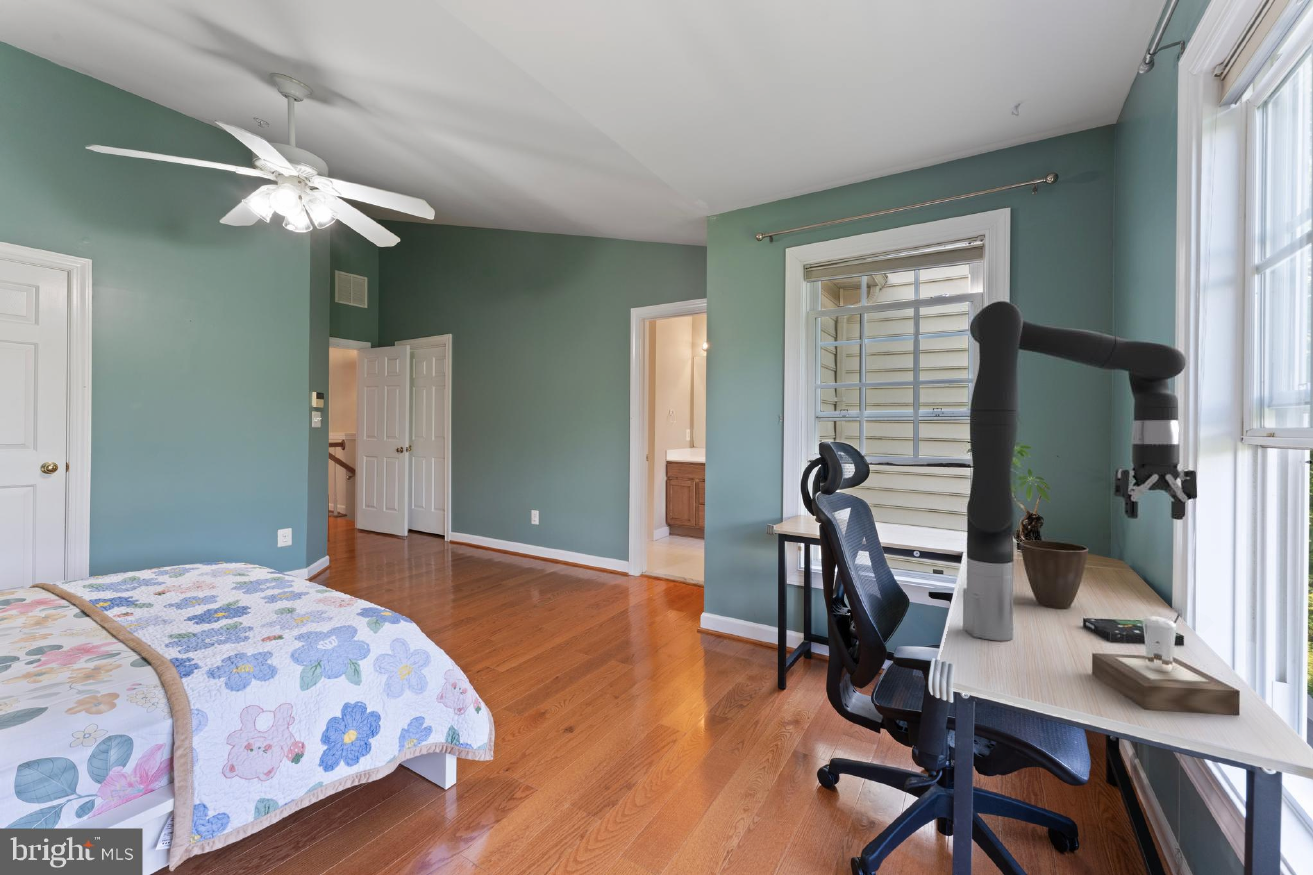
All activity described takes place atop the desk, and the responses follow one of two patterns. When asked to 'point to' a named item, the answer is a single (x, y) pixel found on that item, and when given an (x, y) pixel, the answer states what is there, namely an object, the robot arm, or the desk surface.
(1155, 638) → the milkshake
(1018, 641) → the desk surface
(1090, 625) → the disk drive
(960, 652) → the desk surface
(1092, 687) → the desk surface
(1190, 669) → the plinth
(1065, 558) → the plant pot
